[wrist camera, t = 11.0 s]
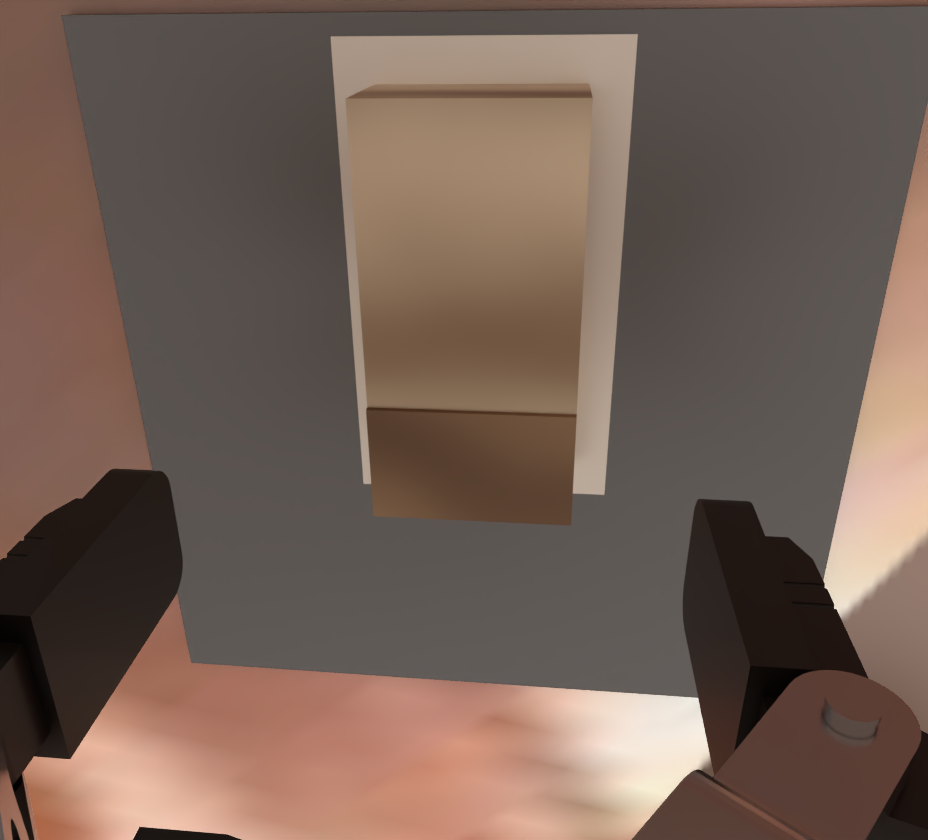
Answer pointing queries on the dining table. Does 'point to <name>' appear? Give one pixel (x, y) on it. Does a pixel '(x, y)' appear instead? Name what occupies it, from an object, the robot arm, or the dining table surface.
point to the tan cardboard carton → (471, 294)
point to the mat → (602, 324)
